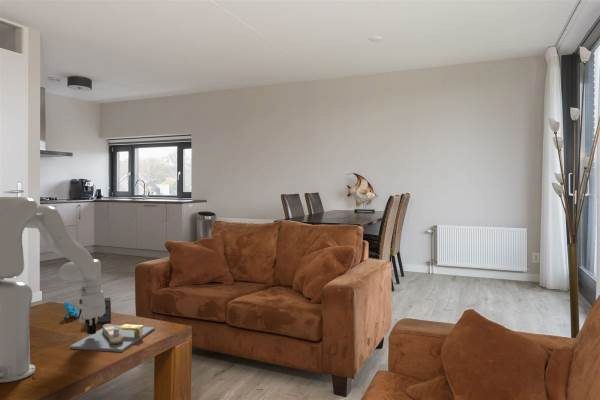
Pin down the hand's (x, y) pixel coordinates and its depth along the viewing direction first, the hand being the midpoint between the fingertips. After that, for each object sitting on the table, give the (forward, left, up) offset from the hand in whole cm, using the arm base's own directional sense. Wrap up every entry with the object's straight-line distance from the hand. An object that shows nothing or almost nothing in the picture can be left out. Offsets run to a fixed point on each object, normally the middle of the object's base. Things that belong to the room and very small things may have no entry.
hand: (91, 333), depth 177 cm
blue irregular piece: (+26, +28, -3) cm, 38 cm away
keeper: (+4, -15, -2) cm, 16 cm away
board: (+3, -8, -3) cm, 9 cm away
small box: (+22, +12, -3) cm, 25 cm away
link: (+2, -8, -1) cm, 8 cm away
